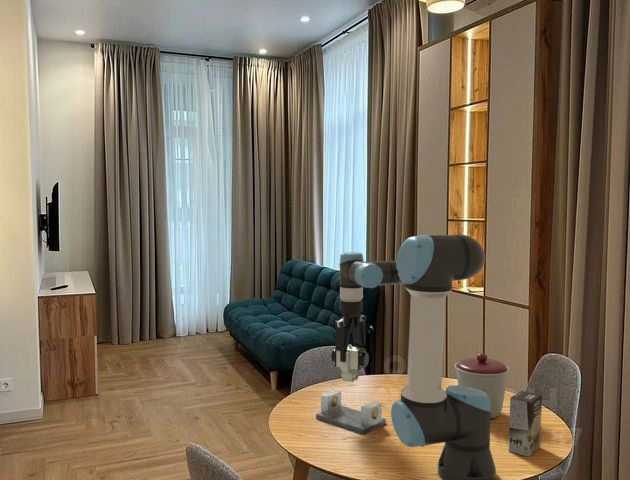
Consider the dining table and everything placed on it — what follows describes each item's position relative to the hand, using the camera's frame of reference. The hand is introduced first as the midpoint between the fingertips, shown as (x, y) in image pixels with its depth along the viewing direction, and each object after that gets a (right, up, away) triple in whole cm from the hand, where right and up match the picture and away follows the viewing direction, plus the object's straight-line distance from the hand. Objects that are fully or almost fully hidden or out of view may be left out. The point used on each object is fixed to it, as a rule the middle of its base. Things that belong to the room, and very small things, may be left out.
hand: (350, 369), depth 198 cm
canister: (+45, -17, +8) cm, 49 cm away
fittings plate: (0, -17, +1) cm, 17 cm away
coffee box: (+50, -19, -21) cm, 58 cm away
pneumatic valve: (0, -4, 0) cm, 4 cm away
